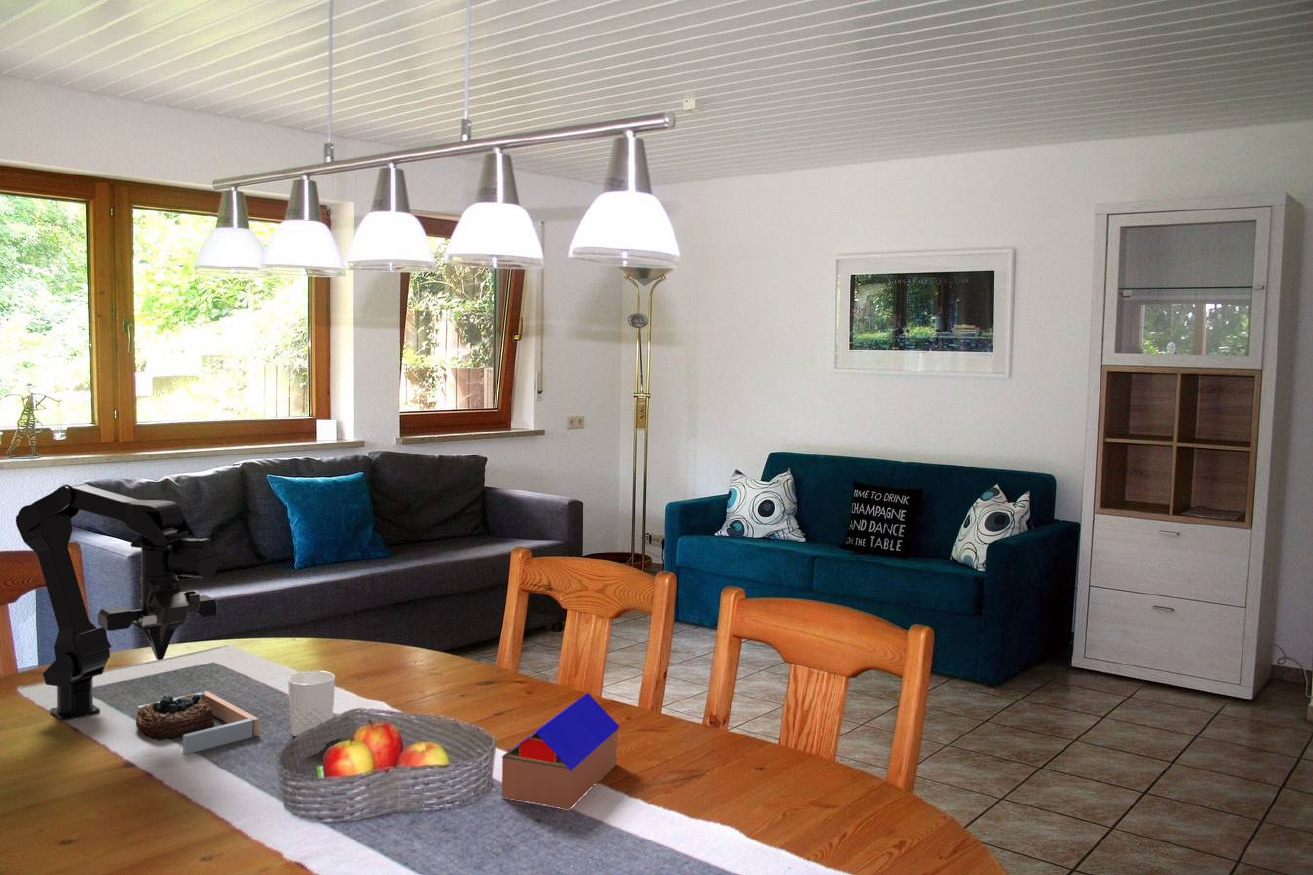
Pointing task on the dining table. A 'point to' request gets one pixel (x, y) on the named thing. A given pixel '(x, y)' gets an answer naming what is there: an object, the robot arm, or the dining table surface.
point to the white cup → (310, 699)
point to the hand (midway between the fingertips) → (159, 659)
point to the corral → (235, 730)
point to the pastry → (175, 717)
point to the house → (562, 756)
